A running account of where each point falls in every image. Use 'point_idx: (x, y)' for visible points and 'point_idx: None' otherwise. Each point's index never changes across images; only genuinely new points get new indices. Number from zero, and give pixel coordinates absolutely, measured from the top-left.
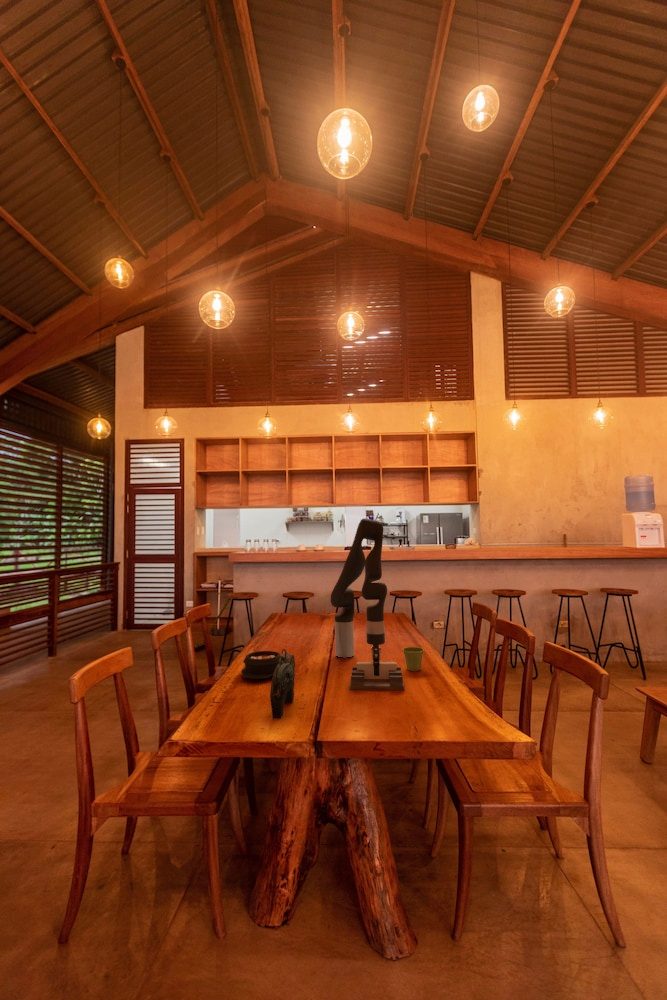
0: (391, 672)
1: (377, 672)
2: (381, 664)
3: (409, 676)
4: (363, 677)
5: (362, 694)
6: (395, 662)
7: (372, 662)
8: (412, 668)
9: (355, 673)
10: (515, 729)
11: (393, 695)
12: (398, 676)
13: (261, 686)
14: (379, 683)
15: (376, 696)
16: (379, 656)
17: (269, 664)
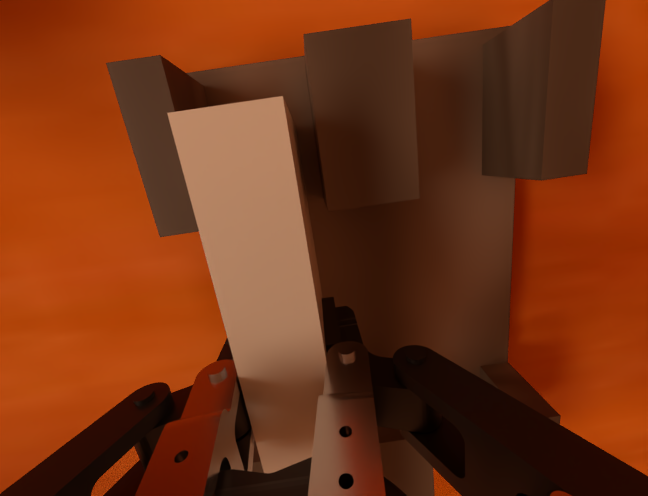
0: (410, 170)
1: (354, 324)
2: (322, 330)
3: (64, 9)
4: (554, 412)
5: (573, 339)
6: (200, 120)
7: (282, 448)
8: None
9: (431, 485)
10: None
11: (615, 128)
12: (582, 57)
13: None
14: (446, 265)
15: (621, 249)
16: (380, 462)
17: None
